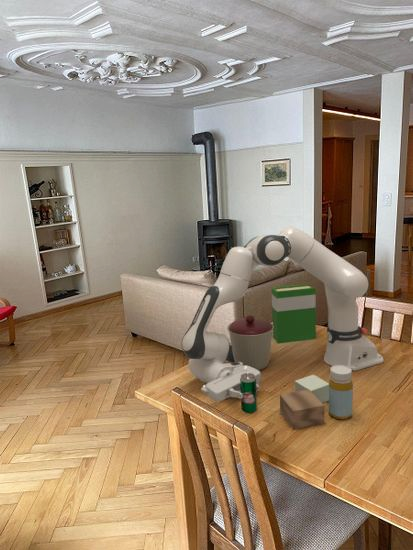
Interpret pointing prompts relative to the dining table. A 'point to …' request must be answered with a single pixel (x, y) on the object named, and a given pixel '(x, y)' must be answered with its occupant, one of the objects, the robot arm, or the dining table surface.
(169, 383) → the dining table surface
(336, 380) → the bottle
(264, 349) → the canister
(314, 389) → the sage block
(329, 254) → the robot arm
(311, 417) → the walnut block
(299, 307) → the green cereal box
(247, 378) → the soda can
